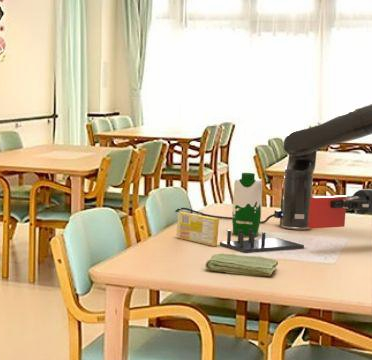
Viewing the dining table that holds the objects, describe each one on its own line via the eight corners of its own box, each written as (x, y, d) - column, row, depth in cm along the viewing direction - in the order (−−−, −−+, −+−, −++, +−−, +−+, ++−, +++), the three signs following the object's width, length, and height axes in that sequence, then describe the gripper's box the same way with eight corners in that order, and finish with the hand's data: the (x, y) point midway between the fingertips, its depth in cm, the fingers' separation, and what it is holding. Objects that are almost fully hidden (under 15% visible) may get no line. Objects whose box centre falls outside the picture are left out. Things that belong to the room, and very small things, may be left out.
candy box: (218, 246, 277) (219, 218, 276) (213, 246, 276) (214, 219, 275) (180, 237, 290) (182, 211, 289) (175, 237, 289) (177, 211, 288)
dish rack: (219, 245, 278) (220, 228, 278) (277, 241, 288) (278, 225, 287) (244, 252, 267) (245, 235, 267) (303, 248, 277) (304, 231, 277)
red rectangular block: (308, 227, 271) (310, 196, 270) (339, 225, 276) (341, 195, 275) (313, 228, 269) (315, 198, 268) (344, 226, 274) (346, 196, 273)
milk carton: (230, 235, 296) (233, 173, 293) (233, 231, 304) (236, 170, 302) (258, 237, 293) (261, 175, 291) (261, 233, 301) (264, 172, 299)
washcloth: (273, 278, 235) (274, 265, 234) (204, 271, 240) (204, 259, 240) (278, 268, 247) (279, 256, 246) (211, 262, 253) (212, 250, 252)
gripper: (355, 186, 285) (312, 187, 277) (390, 192, 272) (346, 194, 265) (354, 210, 286) (310, 212, 278) (388, 217, 273) (344, 220, 266)
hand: (328, 203), depth 271 cm, fingers closed on red rectangular block, 2 cm apart
